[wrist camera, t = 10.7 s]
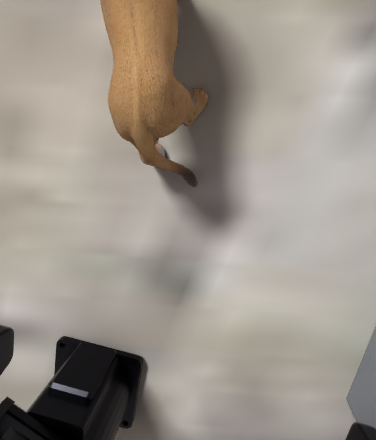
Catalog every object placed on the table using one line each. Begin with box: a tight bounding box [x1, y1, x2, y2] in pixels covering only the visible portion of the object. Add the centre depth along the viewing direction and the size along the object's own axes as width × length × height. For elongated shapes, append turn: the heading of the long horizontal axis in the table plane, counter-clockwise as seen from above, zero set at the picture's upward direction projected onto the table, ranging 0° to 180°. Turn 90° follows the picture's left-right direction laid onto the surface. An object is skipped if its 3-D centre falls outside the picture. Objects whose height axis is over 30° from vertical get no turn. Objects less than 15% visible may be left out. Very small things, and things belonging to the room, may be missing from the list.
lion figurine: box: [101, 0, 208, 187], centre depth 13 cm, size 15×5×9 cm, turn 16°
